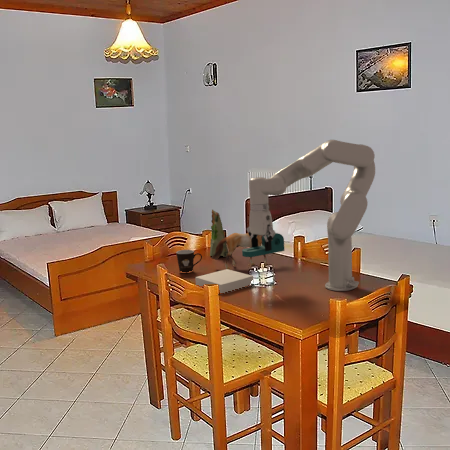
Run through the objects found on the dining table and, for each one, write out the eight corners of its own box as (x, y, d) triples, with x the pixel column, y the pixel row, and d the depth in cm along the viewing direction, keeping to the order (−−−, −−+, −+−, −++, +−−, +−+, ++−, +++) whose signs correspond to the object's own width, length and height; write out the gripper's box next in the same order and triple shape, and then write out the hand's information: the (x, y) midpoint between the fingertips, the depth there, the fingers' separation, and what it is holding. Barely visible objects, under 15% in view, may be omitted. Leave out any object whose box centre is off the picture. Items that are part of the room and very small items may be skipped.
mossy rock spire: (222, 259, 293) (219, 212, 288) (203, 257, 299) (200, 211, 295) (233, 254, 302) (231, 209, 297) (215, 252, 308) (212, 208, 304)
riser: (253, 284, 243) (253, 276, 243) (221, 294, 232) (220, 284, 232) (227, 277, 257) (227, 269, 257) (195, 285, 246) (195, 277, 246)
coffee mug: (174, 273, 269) (173, 253, 267) (182, 269, 277) (180, 249, 275) (196, 274, 265) (195, 254, 263) (203, 270, 273) (202, 250, 271)
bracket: (275, 248, 240) (274, 230, 239) (284, 250, 234) (283, 232, 233) (239, 255, 232) (238, 236, 231) (247, 257, 226) (246, 238, 225)
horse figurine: (270, 261, 283) (269, 221, 280) (275, 264, 276) (274, 223, 272) (211, 268, 275) (208, 227, 272) (215, 272, 268) (212, 230, 264)
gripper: (280, 207, 225) (282, 250, 229) (252, 204, 239) (254, 245, 242) (267, 210, 221) (269, 254, 224) (238, 207, 234) (241, 248, 237)
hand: (261, 249), depth 233 cm, fingers closed on bracket, 7 cm apart
